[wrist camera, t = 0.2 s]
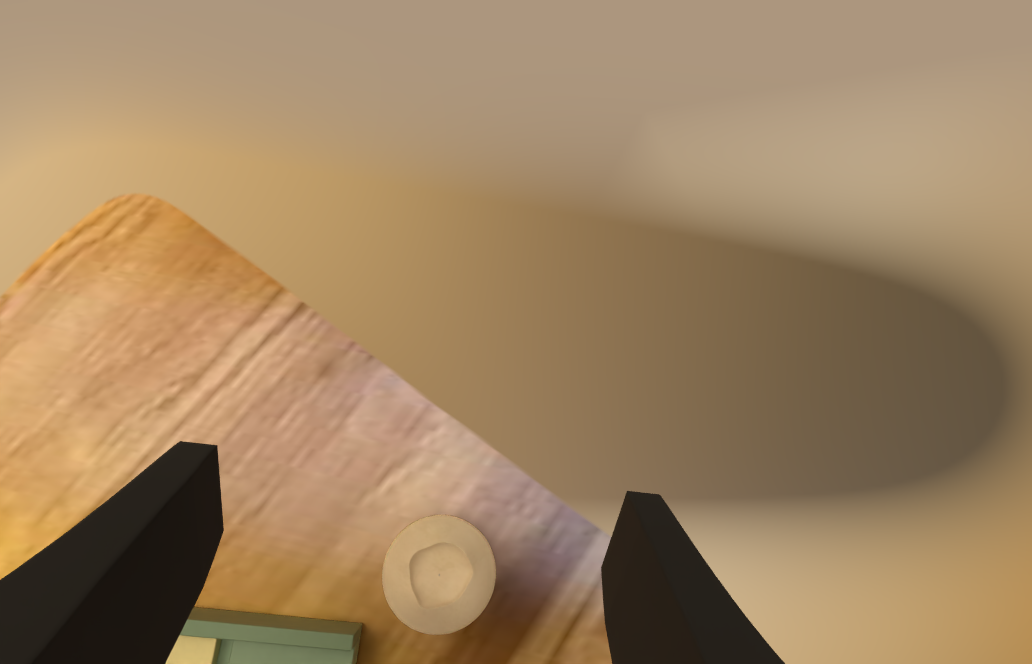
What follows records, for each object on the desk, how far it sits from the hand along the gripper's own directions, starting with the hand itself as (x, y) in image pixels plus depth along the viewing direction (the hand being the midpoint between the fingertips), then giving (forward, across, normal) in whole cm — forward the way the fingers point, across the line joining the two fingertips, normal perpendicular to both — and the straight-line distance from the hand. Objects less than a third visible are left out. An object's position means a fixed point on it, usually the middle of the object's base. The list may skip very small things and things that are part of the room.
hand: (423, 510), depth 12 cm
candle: (+19, -1, +24) cm, 31 cm away
